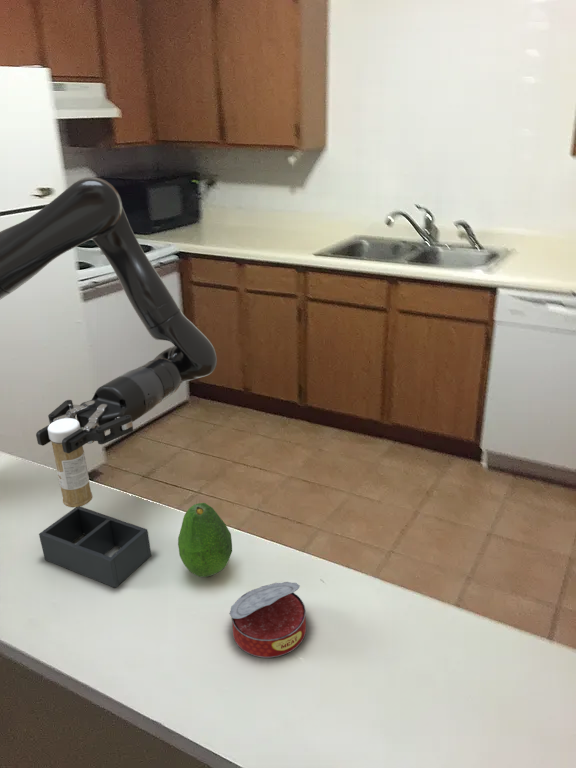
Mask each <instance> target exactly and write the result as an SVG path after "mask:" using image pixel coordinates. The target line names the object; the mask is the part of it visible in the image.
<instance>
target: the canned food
mask: <svg viewBox="0 0 576 768" xmlns="http://www.w3.org/2000/svg"><path fill="white" fill-rule="evenodd" d="M300 587H301V585H300V584H299V583H297V582H290V581H284V582H274V583H271V584H267V585H262V586H260V587H257V588H254V589H251V590H249V591H246V593H244V594H243V595H241V596H240V597H239V598H237V600H236V601H235V602H234V603H233V604H232V605H231V607H230V610H229V613H228V614H229V616H230V617H231V622H232V637H233V639H234V642H235V644H236V645H237V647H239V648H240V649H241V650H242V651H243V652H245V653H247V654H248V655H251V656H254V657H258V658H265V659H267V658H269V659H270V658H278V657H281V656H285V655H287V654H288V653H291V652H293V651H294V650H295V649H297V648H298V646H300V645H301V644H302V642H303V641H304V639H305V637H306V633H307V623H306V622H307V621H306V620H307V619H306V617H307V616H306V611H307V609H306V606H305V603H304V601H303V599H301V597H300V596H299V595H298V594H296V591H298V590H299V589H300Z"/></svg>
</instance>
